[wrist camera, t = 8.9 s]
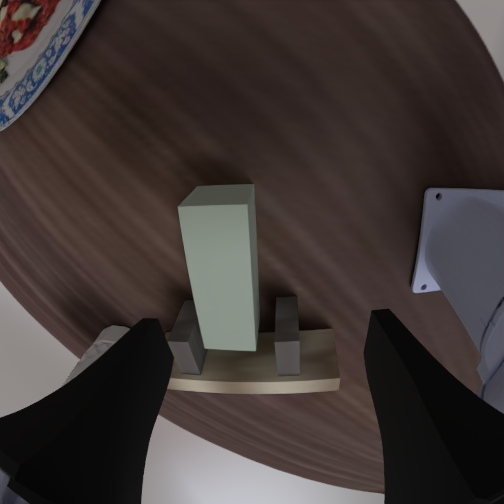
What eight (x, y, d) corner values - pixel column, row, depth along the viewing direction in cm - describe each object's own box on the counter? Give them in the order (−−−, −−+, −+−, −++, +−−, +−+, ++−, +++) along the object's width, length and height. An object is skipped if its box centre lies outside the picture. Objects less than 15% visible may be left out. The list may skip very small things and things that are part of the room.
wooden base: (334, 293, 20) (345, 343, 16) (331, 341, 22) (338, 390, 18) (153, 300, 22) (129, 343, 18) (171, 343, 24) (153, 386, 20)
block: (254, 183, 17) (247, 204, 14) (260, 312, 22) (256, 351, 18) (198, 185, 17) (177, 206, 14) (215, 311, 22) (204, 348, 19)
